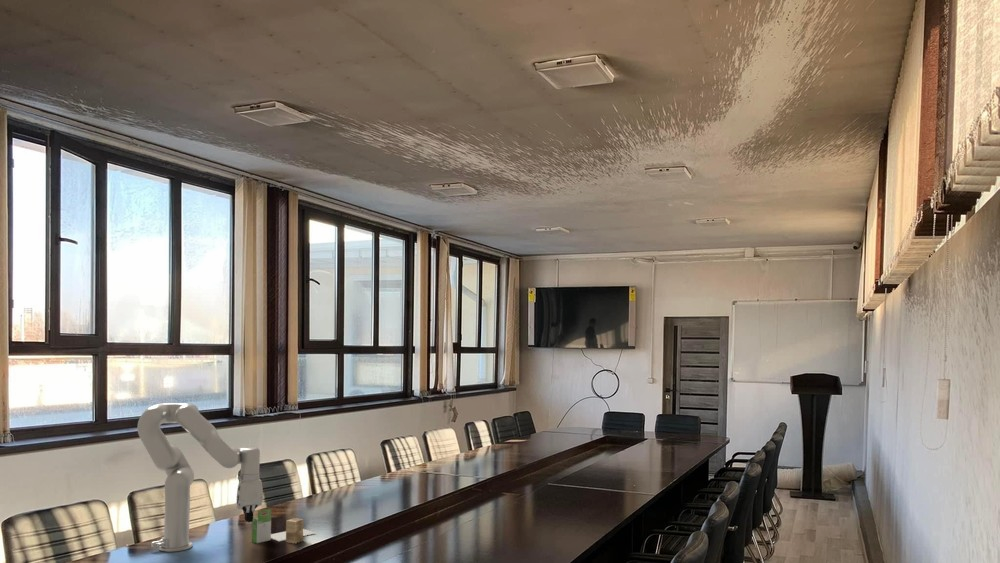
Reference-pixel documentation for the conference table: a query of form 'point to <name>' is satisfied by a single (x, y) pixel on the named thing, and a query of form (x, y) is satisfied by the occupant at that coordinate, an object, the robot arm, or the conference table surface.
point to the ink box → (261, 527)
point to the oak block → (294, 530)
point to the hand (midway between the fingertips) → (248, 521)
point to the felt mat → (282, 535)
